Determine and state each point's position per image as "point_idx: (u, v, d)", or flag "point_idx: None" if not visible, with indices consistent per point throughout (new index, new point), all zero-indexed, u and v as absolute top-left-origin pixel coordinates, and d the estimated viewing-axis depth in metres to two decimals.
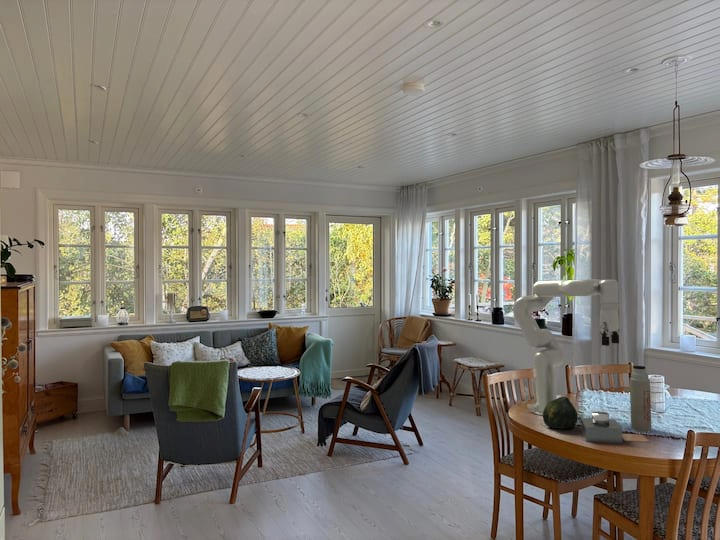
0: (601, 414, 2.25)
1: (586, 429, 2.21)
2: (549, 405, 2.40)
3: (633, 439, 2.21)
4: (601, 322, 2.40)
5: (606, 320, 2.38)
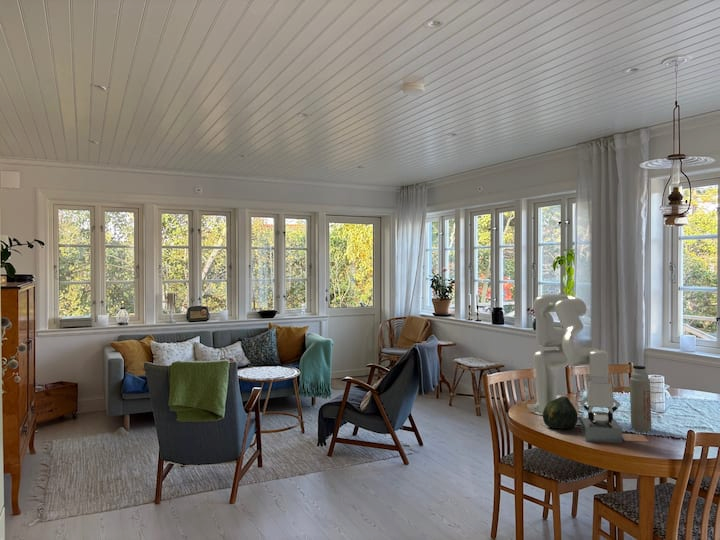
0: (601, 414, 2.25)
1: (586, 429, 2.21)
2: (549, 405, 2.40)
3: (633, 439, 2.21)
4: None
5: None
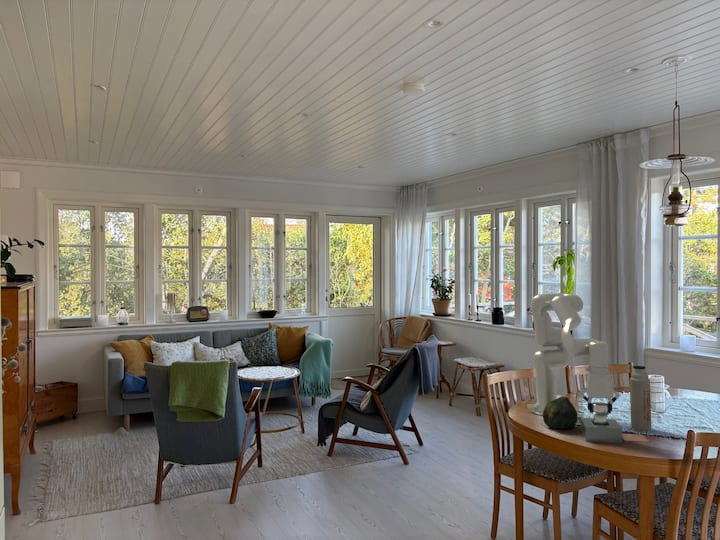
0: (601, 405, 2.25)
1: (586, 429, 2.21)
2: (549, 405, 2.40)
3: (633, 439, 2.21)
4: (612, 387, 2.24)
5: None
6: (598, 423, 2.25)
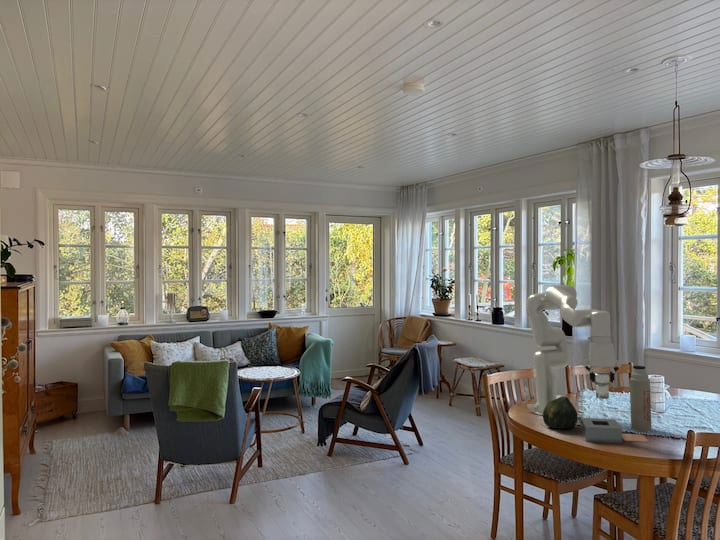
0: (602, 374, 2.25)
1: (586, 429, 2.21)
2: (549, 405, 2.40)
3: (633, 439, 2.21)
4: (614, 356, 2.24)
5: None
6: (600, 392, 2.24)
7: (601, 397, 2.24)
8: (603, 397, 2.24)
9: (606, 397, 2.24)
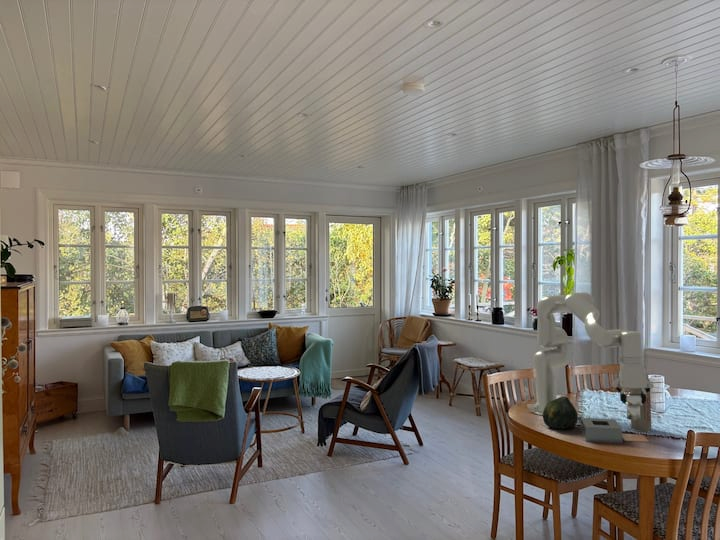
0: (634, 395, 2.22)
1: (586, 429, 2.21)
2: (549, 405, 2.40)
3: (633, 439, 2.21)
4: None
5: None
6: (632, 413, 2.22)
7: (633, 419, 2.22)
8: (635, 419, 2.21)
9: (638, 419, 2.21)
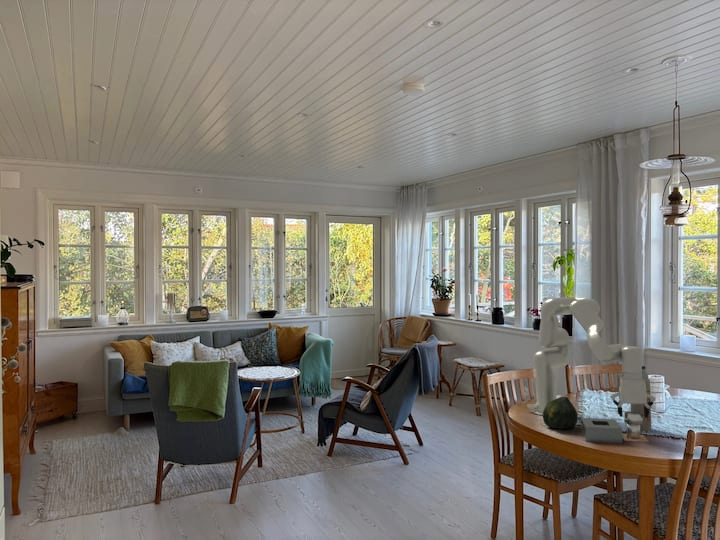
0: (634, 414, 2.22)
1: (586, 429, 2.21)
2: (549, 405, 2.40)
3: (633, 439, 2.21)
4: (646, 393, 2.21)
5: None
6: (631, 432, 2.22)
7: (632, 437, 2.22)
8: (635, 437, 2.22)
9: (638, 437, 2.22)
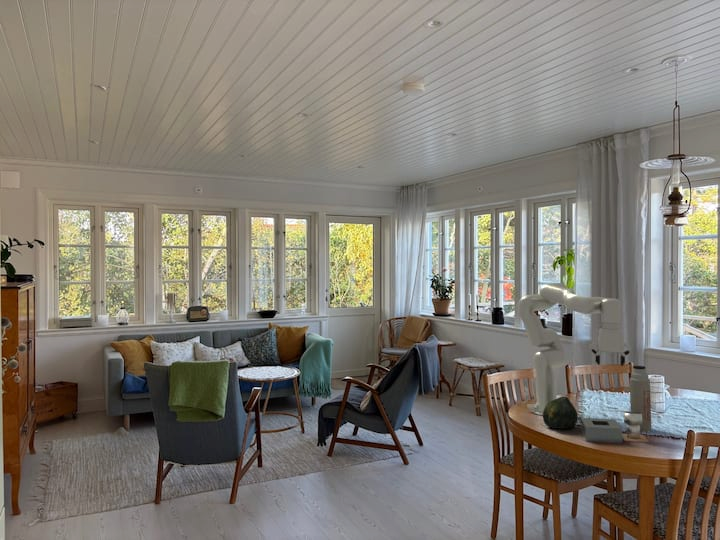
0: (634, 414, 2.22)
1: (586, 429, 2.21)
2: (549, 405, 2.40)
3: (633, 439, 2.21)
4: None
5: None
6: (631, 432, 2.22)
7: (633, 437, 2.22)
8: (635, 437, 2.22)
9: (638, 437, 2.22)
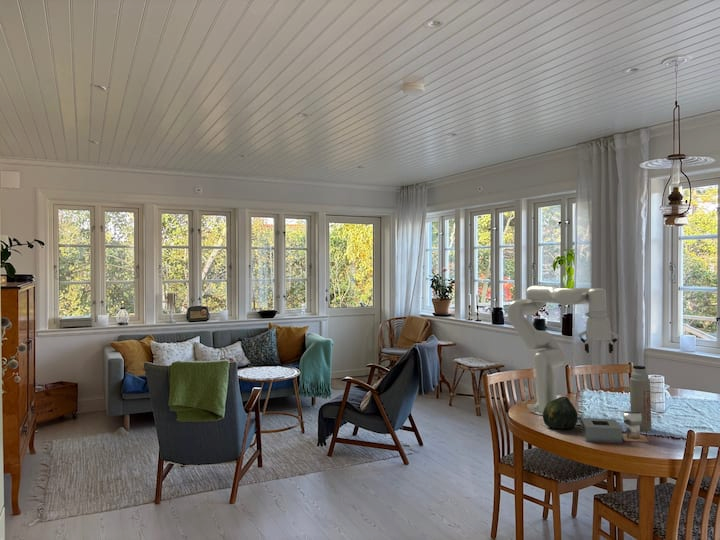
0: (633, 414, 2.22)
1: (586, 429, 2.21)
2: (549, 405, 2.40)
3: (633, 439, 2.21)
4: (610, 330, 2.41)
5: None
6: (631, 432, 2.22)
7: (633, 437, 2.22)
8: (635, 437, 2.22)
9: (638, 437, 2.22)
